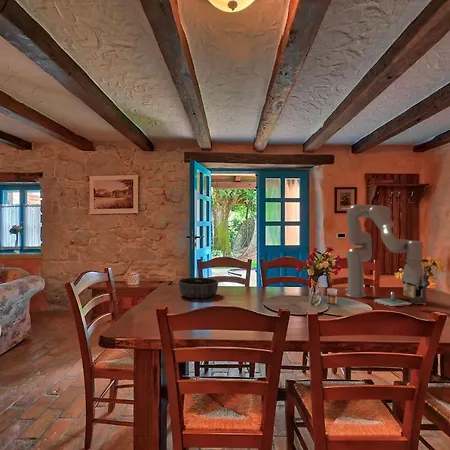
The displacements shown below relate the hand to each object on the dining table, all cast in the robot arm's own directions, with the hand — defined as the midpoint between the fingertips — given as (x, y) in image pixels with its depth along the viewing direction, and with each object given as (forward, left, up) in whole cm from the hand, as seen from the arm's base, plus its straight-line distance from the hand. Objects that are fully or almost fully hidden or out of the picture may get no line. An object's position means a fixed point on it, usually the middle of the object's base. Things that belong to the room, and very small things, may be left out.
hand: (412, 294), depth 186 cm
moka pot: (-10, +15, -8) cm, 20 cm away
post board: (-13, -1, -8) cm, 16 cm away
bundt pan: (-65, -107, -8) cm, 126 cm away
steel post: (-13, -1, -6) cm, 15 cm away
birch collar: (0, 0, -1) cm, 1 cm away
